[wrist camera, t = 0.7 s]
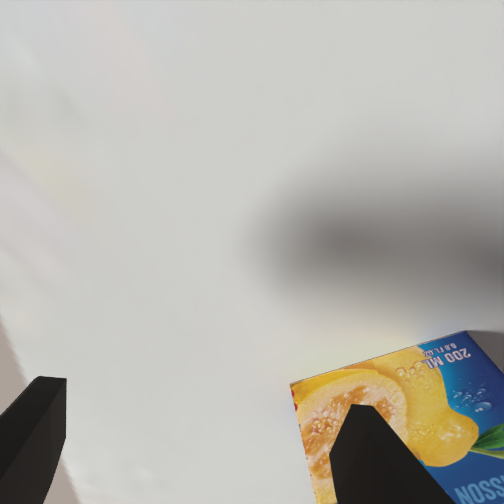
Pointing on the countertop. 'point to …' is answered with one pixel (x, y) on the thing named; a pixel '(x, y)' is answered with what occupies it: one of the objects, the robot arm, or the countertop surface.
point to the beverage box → (416, 414)
